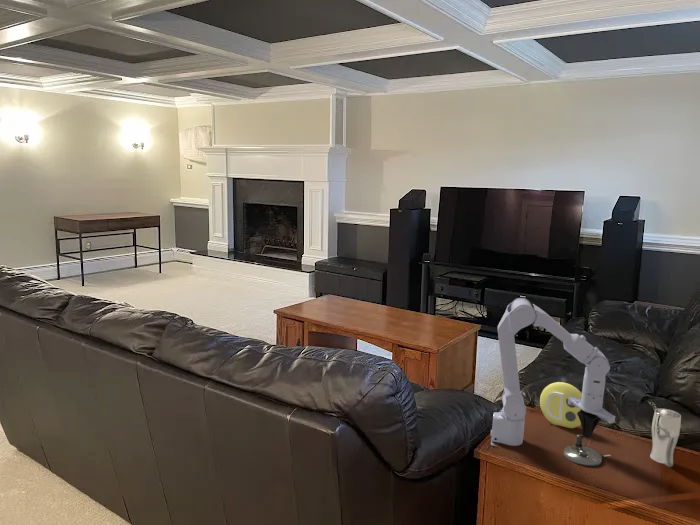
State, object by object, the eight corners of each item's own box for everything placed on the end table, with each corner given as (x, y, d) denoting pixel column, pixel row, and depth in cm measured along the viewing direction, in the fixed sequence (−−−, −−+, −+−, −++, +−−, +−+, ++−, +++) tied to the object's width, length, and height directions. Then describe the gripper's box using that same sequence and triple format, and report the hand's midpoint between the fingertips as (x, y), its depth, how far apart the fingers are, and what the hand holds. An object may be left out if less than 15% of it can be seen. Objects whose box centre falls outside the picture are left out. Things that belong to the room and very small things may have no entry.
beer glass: (665, 470, 153) (672, 420, 150) (642, 458, 159) (648, 410, 156) (680, 465, 156) (687, 416, 154) (656, 453, 162) (663, 406, 160)
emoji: (536, 423, 180) (583, 436, 170) (538, 379, 178) (586, 389, 169) (541, 419, 183) (588, 432, 174) (544, 375, 182) (591, 386, 172)
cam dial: (605, 468, 151) (607, 454, 150) (567, 463, 152) (569, 449, 152) (595, 449, 161) (597, 436, 160) (560, 445, 163) (561, 432, 162)
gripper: (624, 399, 153) (618, 444, 156) (581, 381, 166) (575, 423, 168) (608, 403, 150) (602, 449, 152) (565, 384, 163) (560, 427, 165)
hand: (587, 436), depth 160 cm, fingers closed
